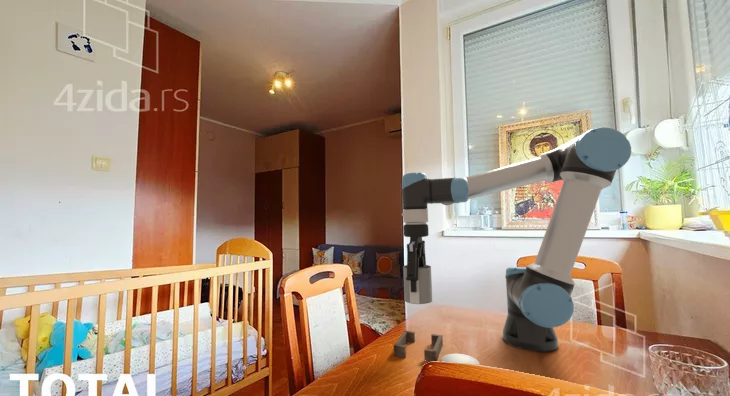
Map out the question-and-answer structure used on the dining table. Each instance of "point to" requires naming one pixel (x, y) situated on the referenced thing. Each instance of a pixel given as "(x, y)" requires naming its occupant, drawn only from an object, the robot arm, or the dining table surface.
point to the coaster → (459, 359)
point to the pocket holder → (410, 337)
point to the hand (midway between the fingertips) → (418, 298)
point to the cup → (420, 284)
